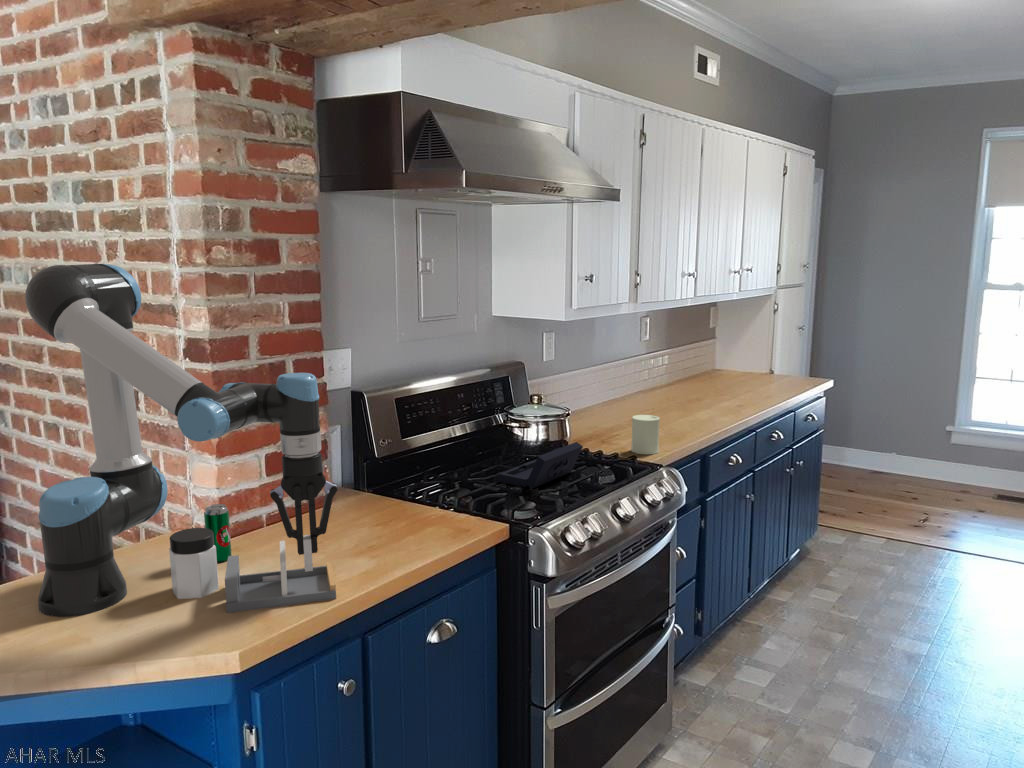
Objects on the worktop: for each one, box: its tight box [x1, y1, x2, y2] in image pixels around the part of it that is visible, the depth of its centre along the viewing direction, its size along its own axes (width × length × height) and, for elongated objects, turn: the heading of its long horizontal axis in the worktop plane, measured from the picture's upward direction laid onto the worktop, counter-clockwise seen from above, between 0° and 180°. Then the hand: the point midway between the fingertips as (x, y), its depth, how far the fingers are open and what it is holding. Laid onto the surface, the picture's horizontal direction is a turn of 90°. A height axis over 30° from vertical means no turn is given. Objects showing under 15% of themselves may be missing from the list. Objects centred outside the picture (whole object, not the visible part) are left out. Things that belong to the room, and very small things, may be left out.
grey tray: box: [224, 555, 337, 614], centre depth 156 cm, size 20×13×7 cm, turn 107°
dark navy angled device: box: [497, 441, 584, 489], centre depth 234 cm, size 21×16×10 cm
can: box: [630, 414, 661, 456], centre depth 264 cm, size 9×9×12 cm
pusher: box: [263, 540, 288, 596], centre depth 155 cm, size 4×11×8 cm, turn 17°
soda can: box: [203, 503, 233, 564], centre depth 173 cm, size 5×5×12 cm
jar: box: [168, 527, 220, 600], centre depth 157 cm, size 9×8×12 cm
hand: (308, 568), depth 157 cm, fingers closed
